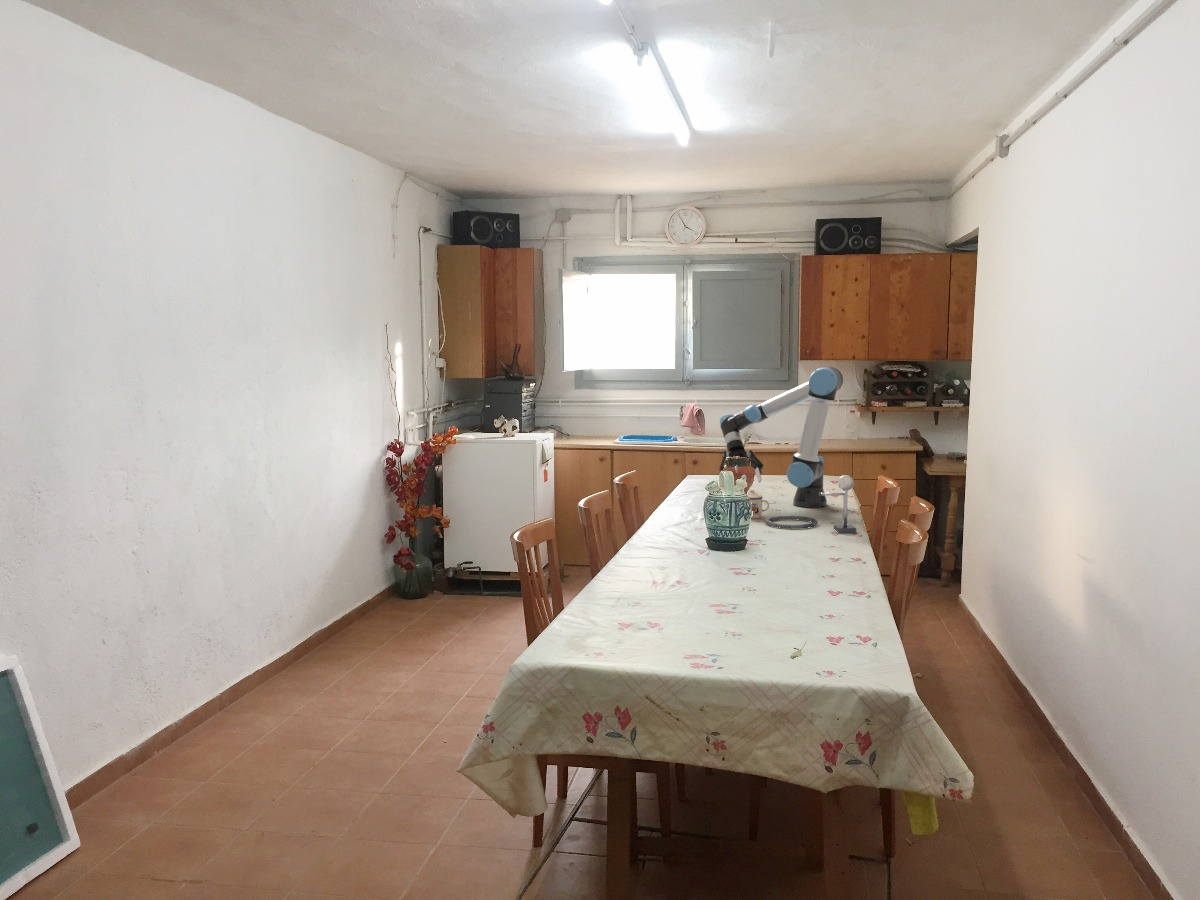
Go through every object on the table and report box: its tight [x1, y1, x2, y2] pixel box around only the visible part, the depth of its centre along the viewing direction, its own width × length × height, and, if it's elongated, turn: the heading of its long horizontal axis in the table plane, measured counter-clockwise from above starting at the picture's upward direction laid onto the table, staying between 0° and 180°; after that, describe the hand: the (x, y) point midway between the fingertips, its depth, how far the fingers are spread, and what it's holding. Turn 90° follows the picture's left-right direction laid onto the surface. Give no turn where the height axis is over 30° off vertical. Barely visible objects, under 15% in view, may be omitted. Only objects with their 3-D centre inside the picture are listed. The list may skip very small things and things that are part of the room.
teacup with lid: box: [746, 489, 770, 519], centre depth 390 cm, size 12×9×12 cm
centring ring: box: [764, 515, 819, 529], centre depth 374 cm, size 21×21×2 cm
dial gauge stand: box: [819, 474, 857, 534], centre depth 357 cm, size 14×7×22 cm, turn 90°
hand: (745, 481), depth 399 cm, fingers open, 13 cm apart
